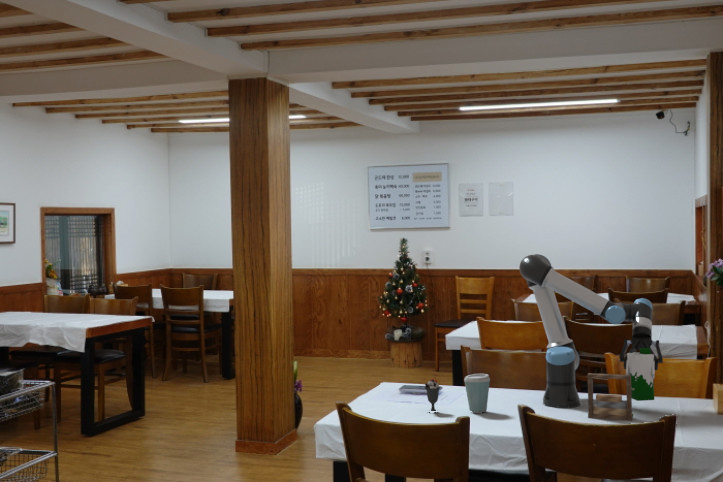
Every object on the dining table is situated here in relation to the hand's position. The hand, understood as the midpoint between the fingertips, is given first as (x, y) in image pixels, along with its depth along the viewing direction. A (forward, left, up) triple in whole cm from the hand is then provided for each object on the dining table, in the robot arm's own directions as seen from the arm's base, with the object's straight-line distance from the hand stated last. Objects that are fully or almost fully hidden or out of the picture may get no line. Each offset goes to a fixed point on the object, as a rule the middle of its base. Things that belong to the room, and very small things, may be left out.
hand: (640, 375), depth 302 cm
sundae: (-78, -24, -15) cm, 83 cm away
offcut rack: (-10, -12, -15) cm, 22 cm away
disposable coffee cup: (-61, -18, -15) cm, 66 cm away
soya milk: (0, +3, -10) cm, 10 cm away
